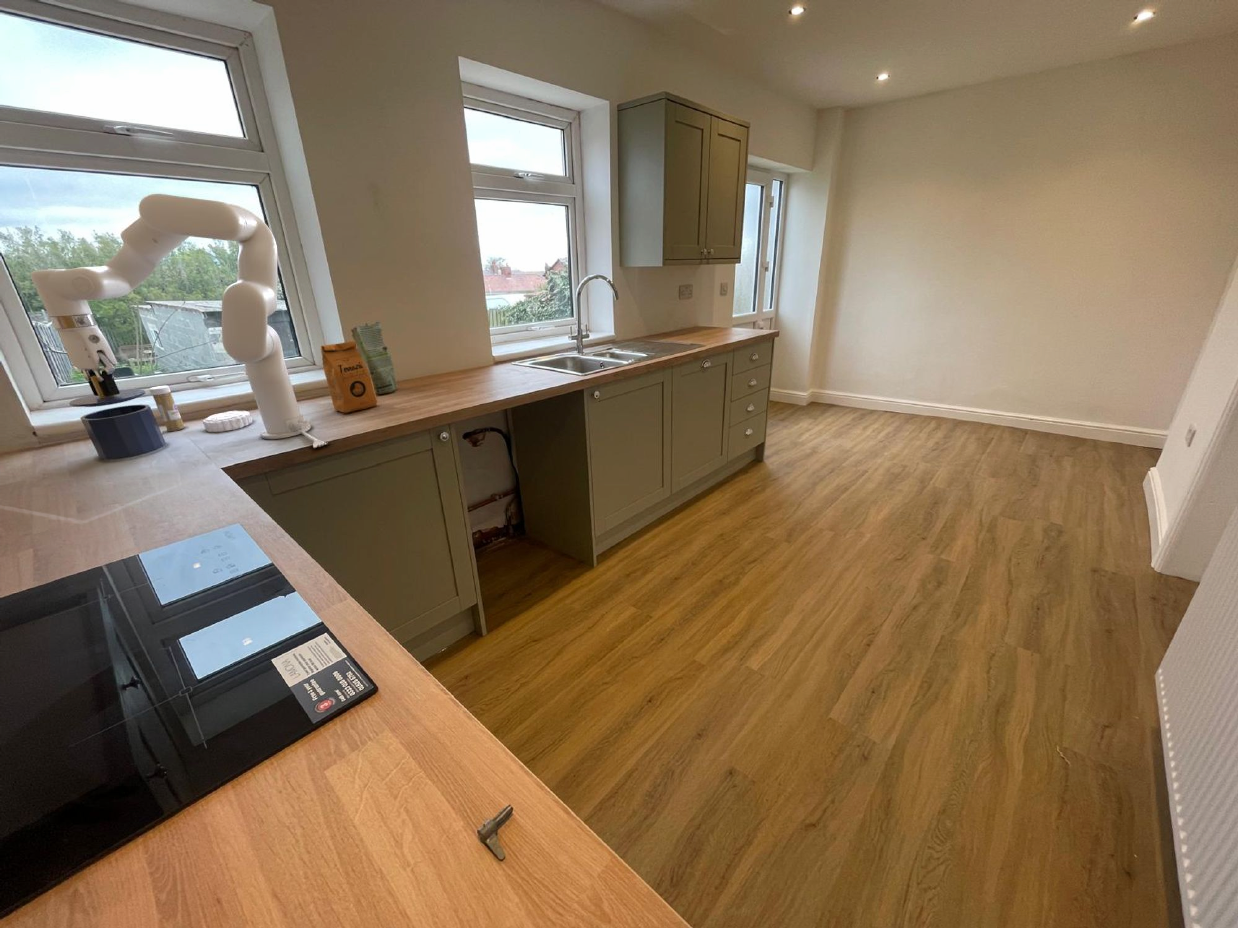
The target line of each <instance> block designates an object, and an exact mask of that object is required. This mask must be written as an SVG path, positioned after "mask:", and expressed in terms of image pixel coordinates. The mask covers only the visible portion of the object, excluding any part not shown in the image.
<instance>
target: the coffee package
mask: <svg viewBox="0 0 1238 928" xmlns="http://www.w3.org/2000/svg"><path fill="white" fill-rule="evenodd" d="M320 352H321V355H322V356H321V358H322V359H321V361H322V367H323V372H324V376H325V379H326V383H327V386H328V387H327V388H328V391H329V394H330V395H329V396H330V399H331V401H332V405H333V408H334V411H335V412H341V413H351V412H356V411H357V412H358V411H360V410H366V409H370V408H372V407H377V405H378V404H377V403H378V399H377V394H376V393H375V391H374V386H373V383H372V380H371V376H370V374H369V371H368V369H367V367H366V365H365V362H364V361H363V359H362V357H361V355H360V353H359V352H358V348H357V345H356V342H355V340H354V339H353V340H350V341H344V342H339V343H331V344H324V345H321V346H320Z"/></svg>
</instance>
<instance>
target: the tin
mask: <svg viewBox="0 0 1238 928" xmlns="http://www.w3.org/2000/svg"><path fill="white" fill-rule="evenodd" d="M79 418H80V421H81V423H82V424H83V427H84V429H85V432H86V433H87V435H88V437H89V439H90V441H91V443H92V446H93V447H94V449H95V451H96V453H97V455H98V457H99V459H100V460H103V461H110V460H113V461H114V460H121V459H122V460H123V459H128V458H134V457H137V456H141V455H145V454H148V453H151V452H154V451H157V450H160V449H161V448H163V447H165V445H166V444H167V441H166V440H165V437H164V436H163V434H162V431H161V428H160V427H159V424H158V422H157V419H156V417H155V415H154V412H153V410H152V408H151V406H150V405H149V404H129V405H122V406H115V407H109V408H104V409H100V410H97V411H93V412H90V413H87V414H84V415H82V416H81V417H79Z"/></svg>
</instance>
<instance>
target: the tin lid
mask: <svg viewBox="0 0 1238 928" xmlns="http://www.w3.org/2000/svg"><path fill="white" fill-rule="evenodd" d="M90 378H91V380H92V382H93V384H94V387H95V389H96V391H97V393H98V395H99V396H95V395H94V394H90V395H86V396H82V397H78V398H76V399H73V400H71V401H69V403H68V404H69V406H70V407H73V408H81V407H82V408H94V407H105V406H111V405H116V404H121V403H126V402H130V401H132V400H135V399H137V398H139V397H142V396H144V395H145V394H146V390H145V389H135V388H133V389H121V390H119V392H120V394H117V395H112V396H108V397H105V396H104V395H103V393H102V390H101V388H100V386H99V384H98V382H99V379H98V378H97V376H92V377H90Z"/></svg>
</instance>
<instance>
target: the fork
mask: <svg viewBox="0 0 1238 928" xmlns="http://www.w3.org/2000/svg"><path fill="white" fill-rule="evenodd" d="M301 434H302V435H303V436H304V437H306V438H307V439H309V440H310V441H311V442H312V448H313V449H316V448H321V447H323V446H326V445H329V441H327V442H325V441H323V440H320V439H317V438H316V437H314V436H313V435H310V434H309V433H307V431H306V432H304V431H302V432H301Z"/></svg>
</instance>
